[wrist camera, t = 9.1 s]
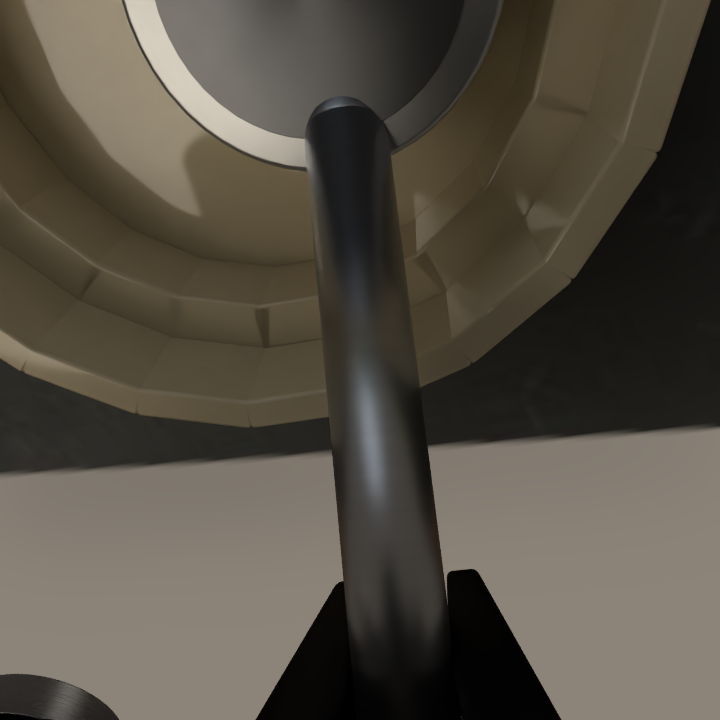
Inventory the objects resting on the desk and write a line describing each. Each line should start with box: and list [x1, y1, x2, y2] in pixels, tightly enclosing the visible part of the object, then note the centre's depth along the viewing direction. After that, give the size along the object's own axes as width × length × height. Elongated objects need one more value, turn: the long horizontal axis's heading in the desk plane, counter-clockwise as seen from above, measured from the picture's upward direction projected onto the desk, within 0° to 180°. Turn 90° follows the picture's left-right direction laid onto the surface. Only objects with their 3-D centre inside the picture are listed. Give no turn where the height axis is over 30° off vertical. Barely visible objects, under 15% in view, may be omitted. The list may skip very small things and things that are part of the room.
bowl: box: [0, 0, 711, 428], centre depth 10 cm, size 13×13×4 cm
